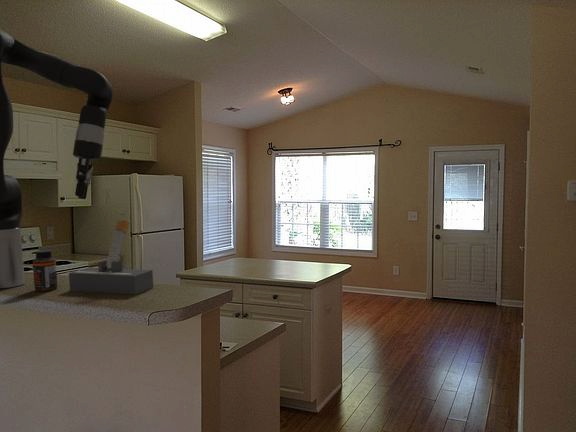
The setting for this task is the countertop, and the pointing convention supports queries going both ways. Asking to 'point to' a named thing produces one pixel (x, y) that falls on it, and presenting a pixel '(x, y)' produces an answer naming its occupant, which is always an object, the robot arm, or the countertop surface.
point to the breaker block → (111, 279)
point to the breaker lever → (117, 243)
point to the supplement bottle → (44, 271)
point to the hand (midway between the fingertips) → (80, 197)
